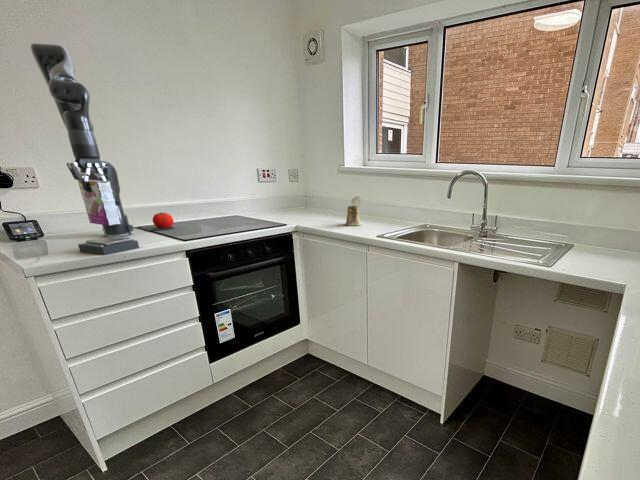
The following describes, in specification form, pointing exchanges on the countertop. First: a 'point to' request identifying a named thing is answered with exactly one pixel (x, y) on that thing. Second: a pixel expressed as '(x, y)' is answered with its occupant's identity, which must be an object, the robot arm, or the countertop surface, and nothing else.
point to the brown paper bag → (353, 213)
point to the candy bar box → (100, 203)
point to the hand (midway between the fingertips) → (96, 191)
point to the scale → (108, 247)
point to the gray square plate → (109, 240)
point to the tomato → (163, 220)
